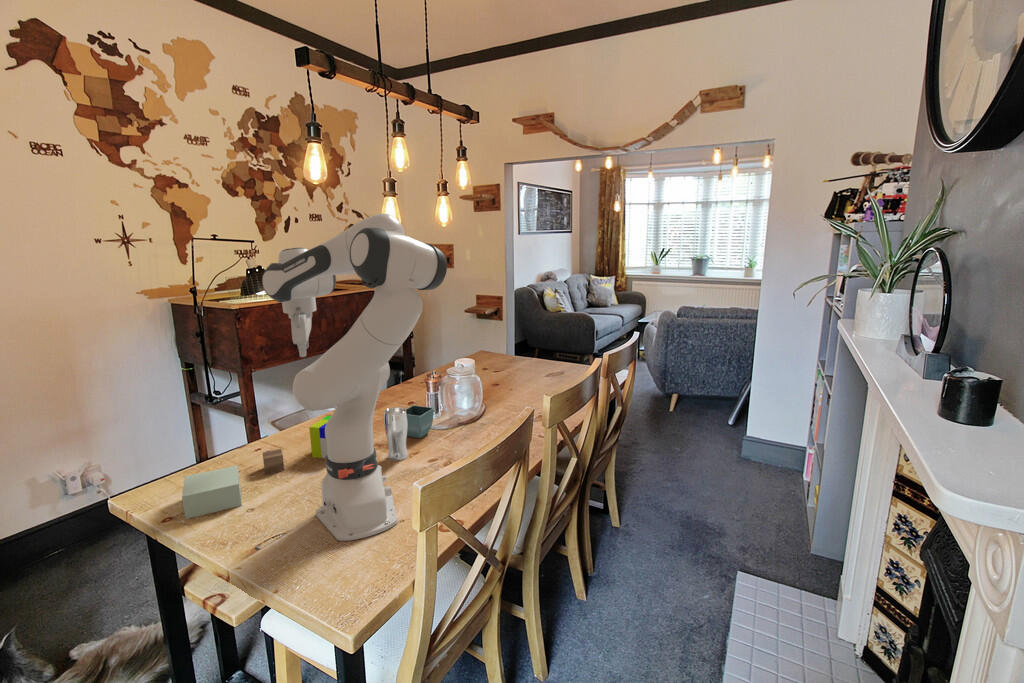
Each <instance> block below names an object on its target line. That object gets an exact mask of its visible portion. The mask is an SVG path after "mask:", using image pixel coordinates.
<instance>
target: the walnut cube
mask: <svg viewBox="0 0 1024 683" xmlns="http://www.w3.org/2000/svg"><path fill="white" fill-rule="evenodd" d="M262 460H263V467H264V474H265V475H269V474H270V475H271V474H275V473H280V472H283V471H285V465H284V464H285V462H284V454H283V450H282V448H277V449H272V450H268V451H263V452H262Z"/></svg>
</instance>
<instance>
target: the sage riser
mask: <svg viewBox="0 0 1024 683" xmlns="http://www.w3.org/2000/svg"><path fill="white" fill-rule="evenodd" d="M183 481H184V482H183V488H182V492H181V493H182V494H181V498H182V505H183V509H184V510H183V512H184V517H185V520H188V519H192V518H196V517H201V516H204V515H208V514H209V515H210V514H212V513H216V512H221V511H225V510H228V509H233V508H237V507H240V506H243V505H242V490H241V481H240V474H239V467H238V465H237V464H236V465H233V466H232V465H231V466H228V467H222V468H219V469H214V470H213V469H212V470H210V471H209V470H208V471H204V472H199V473H195V474H190V475H185V476H184V480H183Z"/></svg>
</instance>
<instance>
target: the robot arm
mask: <svg viewBox="0 0 1024 683" xmlns="http://www.w3.org/2000/svg"><path fill="white" fill-rule="evenodd" d="M447 261H448V260H447V258H446V256H445V254H444V253H443V252H442V250H440V249H439V248H437V247H436V246H435V245H432V244H431V243H427V242H423V241H420V240H418V239H415V238H412V237H411V236H409V235H406V233H405V229H404V226H403V224H401V222H400V221H399V220H398V219H397V217H394V216H393V215H391V214H388V213H377V214H373V215H371V216H370V215H369V216H368V217H365V218H364V219H361V220H359V221H358V222H356V223H355V224H353V225H351V226H350V227H348V228H347V229H346V230H344V231H342V232H340V233H338V234H337V235H336V236H334V237H332V238H330V239H328V240H326V241H324V242H322V243H320V244H319V245H317V246H314V247H312V248H311V249H308V248H305V247H291V248H286V249H283V250H281V251H280V252H279V254H278V261H277V262H272V263H270V264H269V265H268V266H267V267H266V268H265V270H264V272H263V274H262V275H261V283H262V284H261V286H262V290H264V293H265V294H266V295H267V296H269V298H271V300H274V301H276V302H278V303H281V305H282V312H283V313H284V314H287V315H288V319H290V326H291V338H292V342H293V344H294V345H297V349H298V352H299V354H298V355H299V357H300V358H305V357H307V355H308V354H307V353H308V352H307V349H309V347H310V345H309V344H310V343H309V337H310V335H311V334H310V333H311V331H312V324H313V323H312V320H313V319H312V318H313V313H314V312H316V311H317V301H316V298H317V297H324V296H326V295H330V294H332V292H334V290H335V289H336V285H337V276H340V275H357V276H358V277H359V278H360V279H361V283H362V285H364V286H365V287H366V288H367V289H374V294H373V296H372V298H371V300H370V302H368V304H367V306H366V307H365V308H364V309H363V311H362V312H361V314H360V315H359V316H358V317H357V319H356V320H355V322H354V323H353V325H352V326H351V328H349V330H348V331H347V332H346V334H344V336H342V337H341V339H339V340H338V341H337V342H336V343H334V344H333V345H332V346H331V347H330V348H329V349H328V350H326V351H325V352H324V353H323V354H322V355H321V356H319V358H317V359H316V360H315V361H314V362H312V363H311V364H309V365H307V366H306V367H305V368H303V369H302V370H300V371H298V372H297V373H296V374H295V376H294V379H293V382H292V391H293V395H294V398H295V400H296V402H297V403H298V404H299V405H300V406H301V407H302V408H304V410H306V411H310V412H315V411H321V410H322V411H323V410H324V411H325V410H329V409H333V408H335V410H334V411H333V414H332V415H330V416H331V417H330V419H329V420H328V422H327V424H326V427H325V437H326V448H327V455H326V458H325V468H326V475H325V476H324V477H323V479H322V480H321V481H320V484H321V486H320V487H321V500H322V502H321V503H322V504H321V506H319V507H318V508H317V509H316V510H315V517H317V518H318V520H320V522H321V523H322V524H323V525H324V526H325V528H326V529H327V530H328V531H329V532H330V533H331V534H332V535H333V537H334V538H335V539H336V540H337V541H341V542H342V541H343V542H344V541H347V542H348V541H355V540H359V539H363V538H368V537H370V536H374V535H377V534H379V533H382V532H385V531H387V530H389V529H392V527H394V526H395V525H397V524H398V517H397V511H396V507H395V501H394V496H393V493H392V487H391V485H388V486H385V485H384V482H387V475H383V471H382V466H381V465H379V464H378V455H377V451H376V448H375V447H374V446H375V445H374V428H373V426H374V424H373V423H374V422H373V421H374V415H375V410H376V406H377V403H378V400H379V396H380V394H381V391H382V389H383V388H384V386H385V384H387V382H388V380H389V378H390V375H391V368H390V364H389V361H390V360H391V359H392V357H394V355H395V353H397V351H398V350H399V349H400V347H401V346H402V345H403V344H404V343H405V341H406V340H407V338H408V337H409V336H410V334H411V333H412V331H413V330H414V328H415V327H416V324H417V323H418V321H419V320H420V317H421V315H422V312H423V307H424V304H423V301H422V297H421V296H420V294H419V293H418V292H417V290H418V291H431V290H434V289H437V288H438V287H440V286H441V284H442V283H443V282H444V280H445V278H446V275H447V271H448V262H447Z"/></svg>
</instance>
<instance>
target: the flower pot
mask: <svg viewBox="0 0 1024 683" xmlns="http://www.w3.org/2000/svg"><path fill="white" fill-rule="evenodd" d="M405 409H406V413H407V420H408V431H407V437H411V438H417V439H421V438H423V437H424V436H425V435H427V434H428V433H429V432H430V430H431V428H432V425H433V422H434V413H435V412H434V409H435V408H434V407H432V406H431V407H430V406H423V405H414V404H413V405H410V406H409V407H407V408H405Z"/></svg>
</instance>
